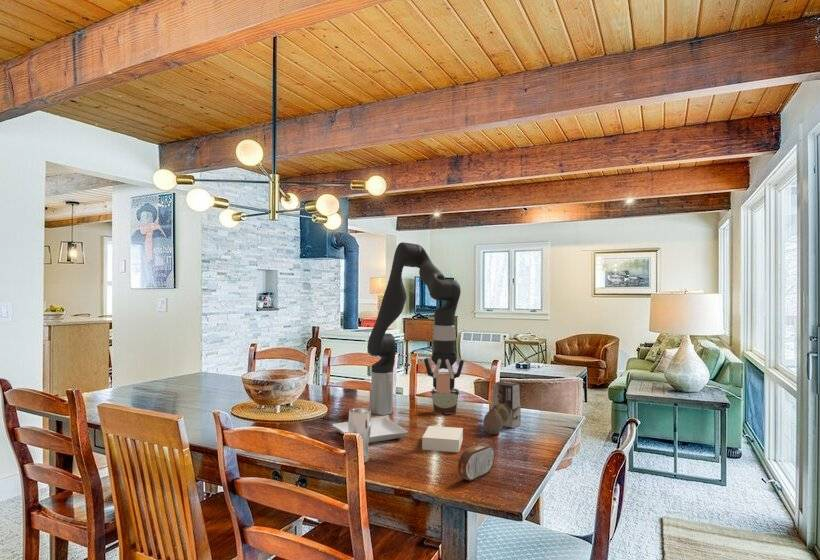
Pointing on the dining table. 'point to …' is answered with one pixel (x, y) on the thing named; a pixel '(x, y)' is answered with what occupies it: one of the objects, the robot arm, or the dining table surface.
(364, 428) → the beer glass
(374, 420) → the salad plate
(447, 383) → the light pinkish-tan block
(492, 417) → the vase
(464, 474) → the tin
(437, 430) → the plinth
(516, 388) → the coffee box
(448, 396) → the food container
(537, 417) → the dining table surface
